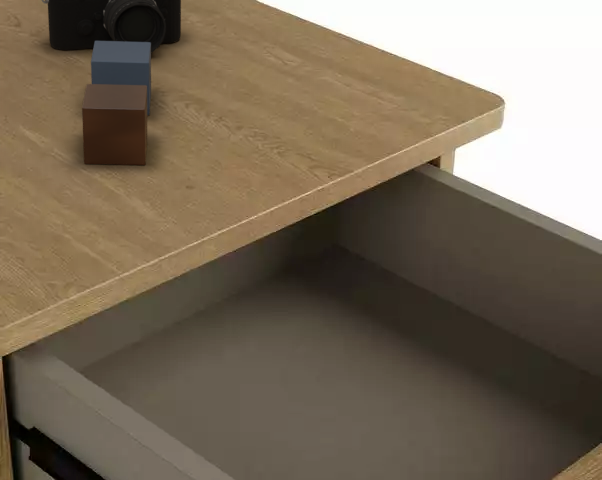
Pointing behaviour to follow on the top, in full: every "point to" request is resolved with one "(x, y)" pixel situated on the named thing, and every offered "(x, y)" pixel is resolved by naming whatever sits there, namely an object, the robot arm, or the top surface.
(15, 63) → the top surface
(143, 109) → the walnut block
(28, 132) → the top surface
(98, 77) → the slate block
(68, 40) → the camera
